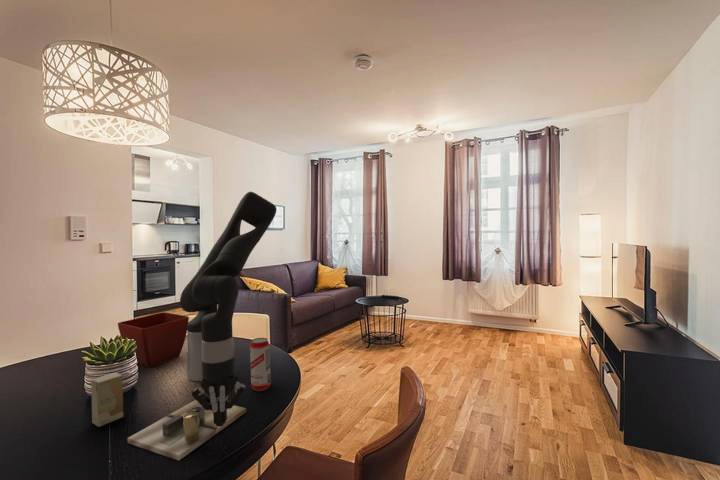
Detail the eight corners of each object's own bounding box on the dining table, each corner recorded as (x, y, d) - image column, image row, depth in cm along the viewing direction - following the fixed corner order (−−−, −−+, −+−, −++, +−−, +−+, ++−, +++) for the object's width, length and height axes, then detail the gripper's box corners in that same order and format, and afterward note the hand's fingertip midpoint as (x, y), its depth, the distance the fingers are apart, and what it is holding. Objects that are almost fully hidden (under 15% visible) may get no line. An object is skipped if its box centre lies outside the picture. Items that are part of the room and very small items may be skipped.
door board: (127, 442, 85) (126, 426, 85) (200, 401, 105) (199, 387, 105) (178, 460, 78) (178, 442, 78) (246, 412, 98) (245, 397, 98)
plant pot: (145, 373, 128) (143, 328, 127) (118, 364, 137) (116, 322, 137) (191, 355, 145) (190, 316, 144) (165, 349, 154) (163, 311, 153)
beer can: (265, 392, 110) (263, 343, 109) (247, 391, 111) (246, 342, 111) (274, 384, 116) (272, 337, 116) (257, 382, 117) (255, 336, 117)
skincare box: (98, 427, 92) (96, 383, 92) (91, 423, 95) (89, 379, 94) (125, 416, 98) (123, 374, 97) (117, 412, 100) (115, 371, 100)
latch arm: (188, 418, 92) (187, 397, 92) (206, 414, 94) (205, 394, 94) (180, 443, 81) (179, 420, 81) (201, 439, 83) (200, 416, 82)
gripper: (184, 363, 80) (187, 436, 81) (242, 359, 82) (244, 430, 82) (195, 352, 87) (198, 418, 88) (248, 348, 89) (250, 414, 90)
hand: (220, 424), depth 85 cm, fingers closed
